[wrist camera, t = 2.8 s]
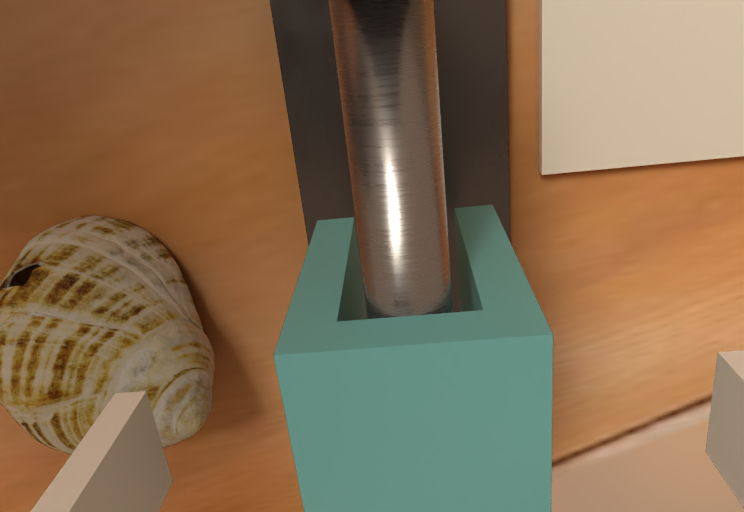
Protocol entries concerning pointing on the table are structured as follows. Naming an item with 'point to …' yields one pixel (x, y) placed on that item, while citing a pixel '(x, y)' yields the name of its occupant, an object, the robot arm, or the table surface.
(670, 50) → the mat
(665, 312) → the table surface
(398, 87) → the stand
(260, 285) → the table surface
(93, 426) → the robot arm
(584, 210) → the table surface
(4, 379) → the seashell
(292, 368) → the c link
